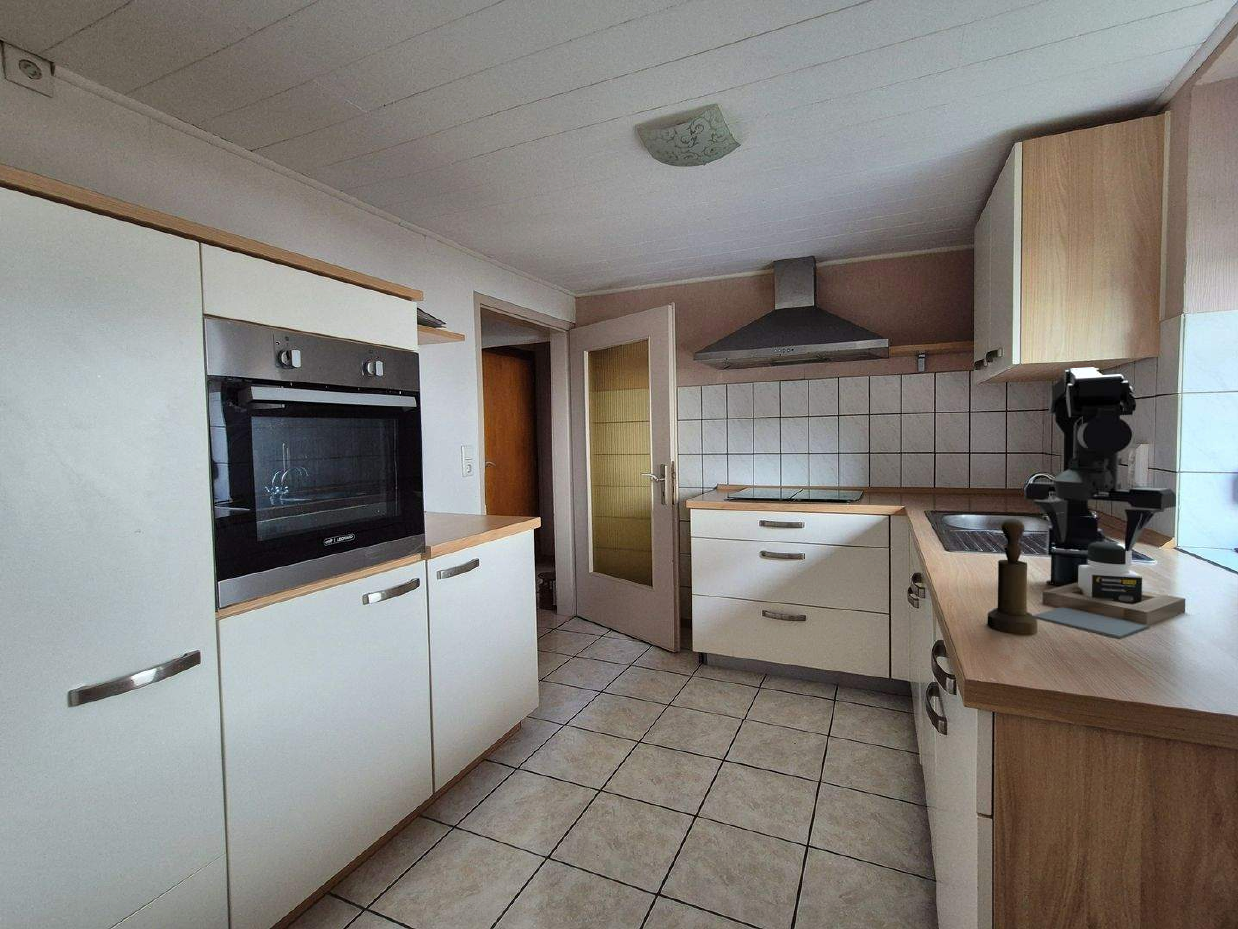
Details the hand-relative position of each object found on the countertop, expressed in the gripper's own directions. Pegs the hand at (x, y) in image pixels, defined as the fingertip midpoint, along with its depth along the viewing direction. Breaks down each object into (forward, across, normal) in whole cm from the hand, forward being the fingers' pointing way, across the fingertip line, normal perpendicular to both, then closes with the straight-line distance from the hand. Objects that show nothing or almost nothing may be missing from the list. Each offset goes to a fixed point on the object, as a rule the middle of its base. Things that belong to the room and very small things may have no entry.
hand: (1093, 546), depth 95 cm
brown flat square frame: (+13, -2, +12) cm, 18 cm away
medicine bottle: (+14, -3, +13) cm, 19 cm away
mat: (+13, 0, -1) cm, 13 cm away
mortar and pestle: (+13, -5, -15) cm, 20 cm away
